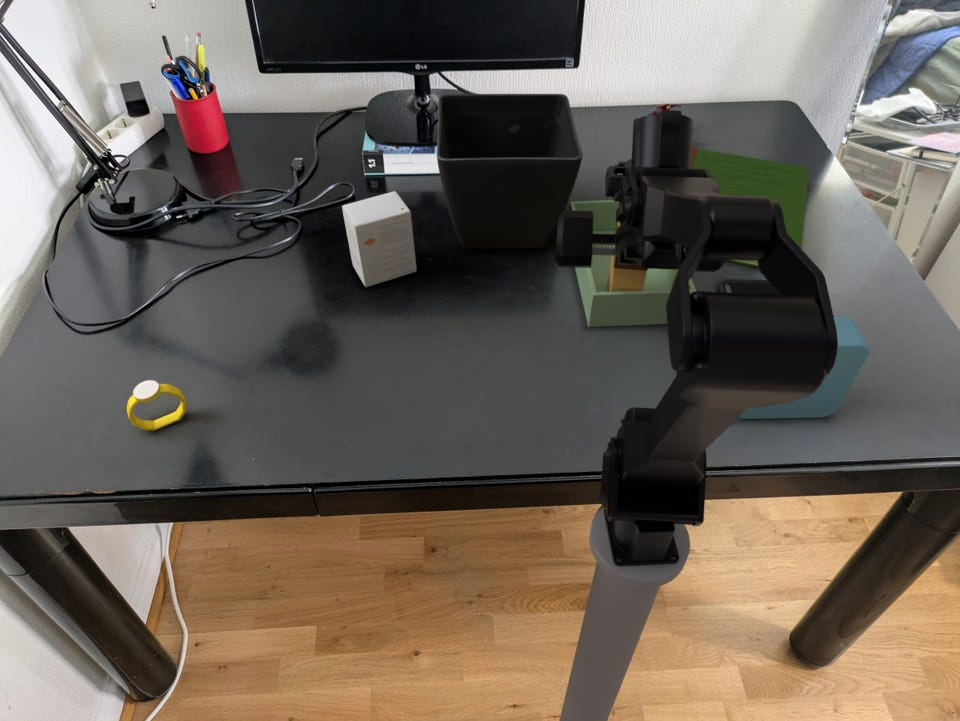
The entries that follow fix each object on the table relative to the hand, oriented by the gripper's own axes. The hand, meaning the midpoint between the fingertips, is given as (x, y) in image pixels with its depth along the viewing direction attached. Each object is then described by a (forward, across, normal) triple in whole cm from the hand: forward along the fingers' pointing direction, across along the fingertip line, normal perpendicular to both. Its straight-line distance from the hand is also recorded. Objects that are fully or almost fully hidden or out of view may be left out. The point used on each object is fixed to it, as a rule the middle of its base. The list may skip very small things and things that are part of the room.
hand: (626, 252), depth 87 cm
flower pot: (+20, +16, -6) cm, 26 cm away
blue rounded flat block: (-5, -17, +18) cm, 26 cm away
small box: (+11, +33, +2) cm, 35 cm away
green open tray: (+12, -1, +1) cm, 12 cm away
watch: (-9, +54, +23) cm, 59 cm away
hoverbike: (+40, -12, -27) cm, 50 cm away
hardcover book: (+22, -20, -9) cm, 31 cm away
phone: (+5, -18, +8) cm, 21 cm away
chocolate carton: (+7, -1, +5) cm, 9 cm away
